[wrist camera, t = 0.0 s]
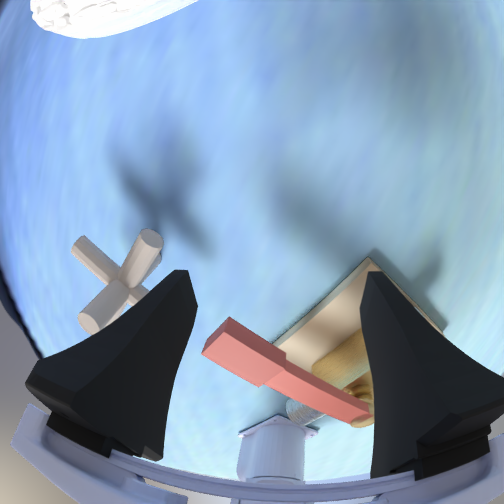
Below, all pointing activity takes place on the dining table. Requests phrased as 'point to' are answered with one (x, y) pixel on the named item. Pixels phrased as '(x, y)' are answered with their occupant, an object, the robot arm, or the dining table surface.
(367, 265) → the mounting board
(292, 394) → the lever
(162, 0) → the cake
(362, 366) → the ball valve
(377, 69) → the dining table surface
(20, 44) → the dining table surface
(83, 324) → the pipe connector
